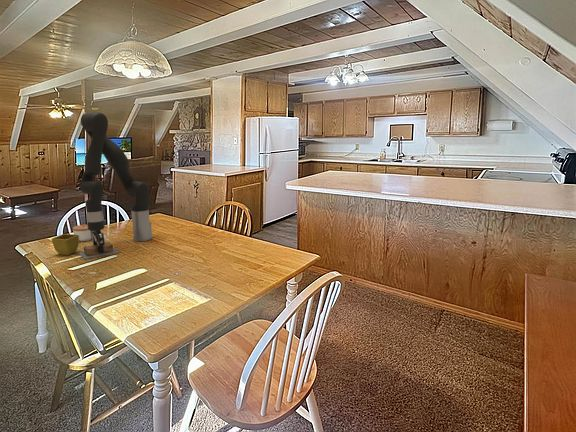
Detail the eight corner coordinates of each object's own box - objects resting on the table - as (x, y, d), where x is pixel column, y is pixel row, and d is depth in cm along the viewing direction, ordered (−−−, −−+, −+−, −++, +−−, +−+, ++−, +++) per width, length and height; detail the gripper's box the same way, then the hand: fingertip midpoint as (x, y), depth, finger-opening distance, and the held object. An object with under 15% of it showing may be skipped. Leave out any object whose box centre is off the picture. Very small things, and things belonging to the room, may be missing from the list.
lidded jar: (89, 236, 218) (87, 220, 215) (99, 239, 211) (97, 223, 209) (70, 240, 209) (68, 224, 207) (79, 243, 203) (77, 227, 201)
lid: (109, 248, 194) (108, 242, 193) (113, 251, 190) (112, 244, 189) (84, 253, 186) (83, 246, 185) (87, 256, 182) (86, 249, 181)
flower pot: (68, 257, 182) (66, 239, 180) (53, 255, 184) (50, 238, 182) (81, 251, 190) (79, 234, 188) (66, 250, 192) (64, 233, 190)
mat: (111, 247, 198) (111, 246, 198) (119, 252, 189) (119, 252, 189) (78, 253, 187) (78, 252, 187) (85, 259, 178) (84, 258, 178)
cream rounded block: (105, 244, 203) (103, 233, 201) (108, 246, 198) (107, 236, 197) (93, 246, 199) (92, 235, 197) (96, 249, 194) (95, 238, 193)
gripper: (107, 221, 181) (111, 252, 185) (99, 216, 192) (102, 246, 195) (91, 223, 176) (94, 255, 180) (83, 218, 187) (86, 248, 190)
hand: (98, 250), depth 188 cm, fingers open, 8 cm apart
